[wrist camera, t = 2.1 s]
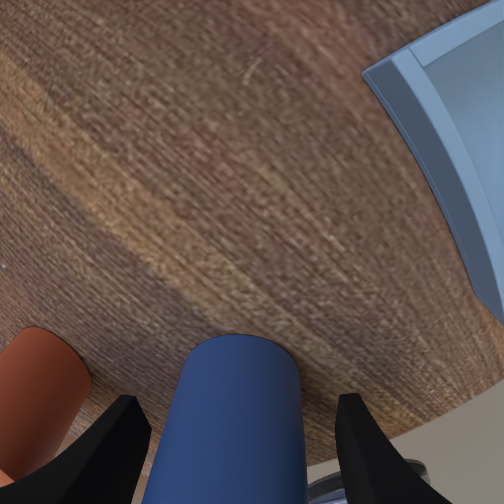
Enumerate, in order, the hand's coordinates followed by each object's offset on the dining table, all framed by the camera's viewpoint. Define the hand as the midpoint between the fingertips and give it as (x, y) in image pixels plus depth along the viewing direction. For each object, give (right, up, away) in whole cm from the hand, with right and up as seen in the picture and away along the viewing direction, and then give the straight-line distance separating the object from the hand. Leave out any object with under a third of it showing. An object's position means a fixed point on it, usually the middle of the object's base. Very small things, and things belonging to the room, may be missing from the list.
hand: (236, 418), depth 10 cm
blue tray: (+14, +13, -4) cm, 19 cm away
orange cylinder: (-9, 0, +3) cm, 10 cm away
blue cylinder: (0, +1, +2) cm, 2 cm away
